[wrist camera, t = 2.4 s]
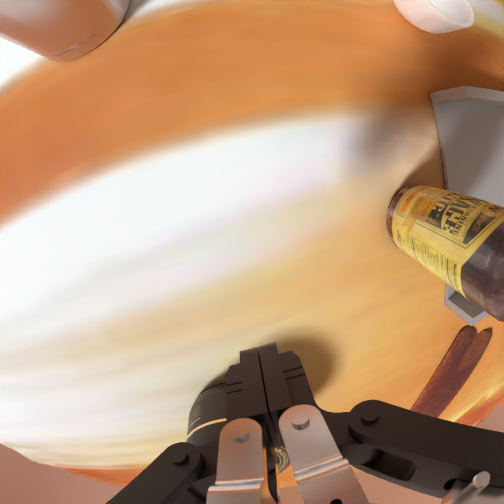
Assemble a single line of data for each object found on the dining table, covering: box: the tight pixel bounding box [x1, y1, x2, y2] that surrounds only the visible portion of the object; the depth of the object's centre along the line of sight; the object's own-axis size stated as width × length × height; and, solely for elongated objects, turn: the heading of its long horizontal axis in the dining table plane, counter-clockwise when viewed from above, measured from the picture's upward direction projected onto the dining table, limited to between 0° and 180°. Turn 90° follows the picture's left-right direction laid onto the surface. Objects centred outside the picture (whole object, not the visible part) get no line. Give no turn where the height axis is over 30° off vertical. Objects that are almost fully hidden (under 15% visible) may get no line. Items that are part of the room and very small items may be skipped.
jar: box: [186, 383, 291, 474], centre depth 24 cm, size 10×10×8 cm
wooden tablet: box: [411, 327, 492, 418], centre depth 32 cm, size 27×10×2 cm, turn 167°
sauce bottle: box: [386, 185, 504, 322], centre depth 13 cm, size 7×6×20 cm
